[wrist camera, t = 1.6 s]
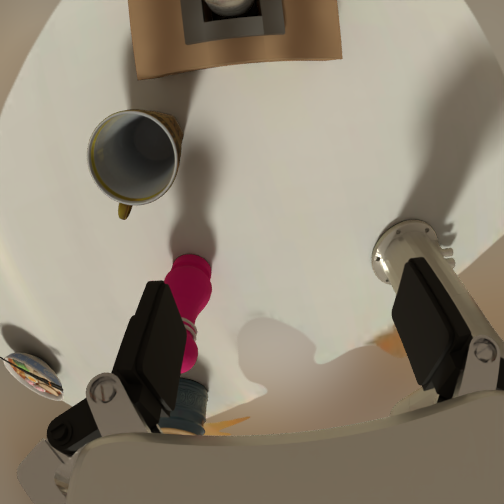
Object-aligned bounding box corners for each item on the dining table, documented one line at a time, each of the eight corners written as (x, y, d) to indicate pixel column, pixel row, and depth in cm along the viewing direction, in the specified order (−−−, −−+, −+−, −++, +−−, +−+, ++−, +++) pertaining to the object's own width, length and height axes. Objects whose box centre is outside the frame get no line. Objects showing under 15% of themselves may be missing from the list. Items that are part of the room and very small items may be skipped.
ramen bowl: (19, 364, 71) (11, 382, 65) (2, 327, 59) (-10, 347, 52) (77, 391, 77) (71, 411, 70) (68, 359, 64) (59, 383, 58)
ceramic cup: (132, 91, 30) (95, 101, 22) (206, 110, 32) (191, 125, 24) (113, 181, 37) (80, 214, 29) (178, 200, 39) (159, 240, 31)
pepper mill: (166, 250, 44) (128, 359, 27) (212, 250, 44) (194, 365, 27) (173, 286, 48) (146, 391, 32) (216, 287, 48) (203, 396, 32)
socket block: (313, -37, 20) (330, -60, 13) (325, 60, 28) (346, 58, 21) (147, -18, 21) (121, -35, 15) (158, 77, 29) (133, 81, 23)
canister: (212, 400, 72) (208, 458, 58) (167, 398, 73) (158, 453, 58) (203, 377, 65) (196, 444, 50) (153, 375, 65) (140, 437, 51)
